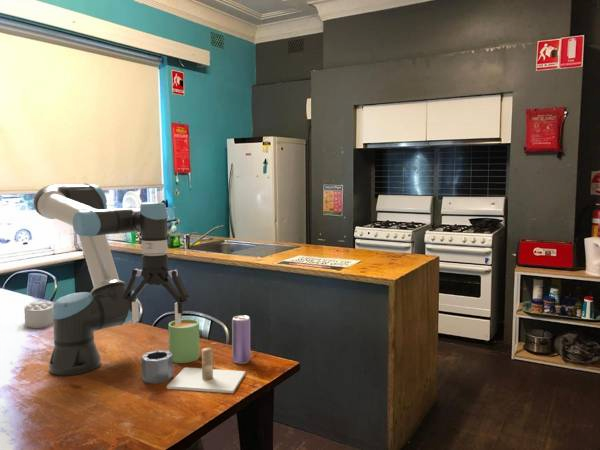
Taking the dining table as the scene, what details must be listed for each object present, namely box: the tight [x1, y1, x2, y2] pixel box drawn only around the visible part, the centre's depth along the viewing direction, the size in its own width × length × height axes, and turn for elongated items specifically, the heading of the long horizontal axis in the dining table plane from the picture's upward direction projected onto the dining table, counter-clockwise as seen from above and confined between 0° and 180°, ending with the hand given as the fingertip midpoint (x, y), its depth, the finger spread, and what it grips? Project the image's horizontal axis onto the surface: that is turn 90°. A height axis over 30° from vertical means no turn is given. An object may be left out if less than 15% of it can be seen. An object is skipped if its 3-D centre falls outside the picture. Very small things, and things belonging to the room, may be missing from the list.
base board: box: [166, 366, 246, 394], centre depth 146 cm, size 20×14×1 cm
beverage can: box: [231, 314, 251, 365], centre depth 161 cm, size 6×6×15 cm
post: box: [201, 347, 214, 381], centre depth 146 cm, size 3×3×9 cm
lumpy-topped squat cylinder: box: [23, 300, 53, 329], centre depth 201 cm, size 10×13×9 cm
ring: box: [140, 349, 174, 384], centre depth 148 cm, size 9×9×7 cm
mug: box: [168, 318, 201, 364], centre depth 165 cm, size 13×10×12 cm
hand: (156, 322), depth 147 cm, fingers open, 13 cm apart
